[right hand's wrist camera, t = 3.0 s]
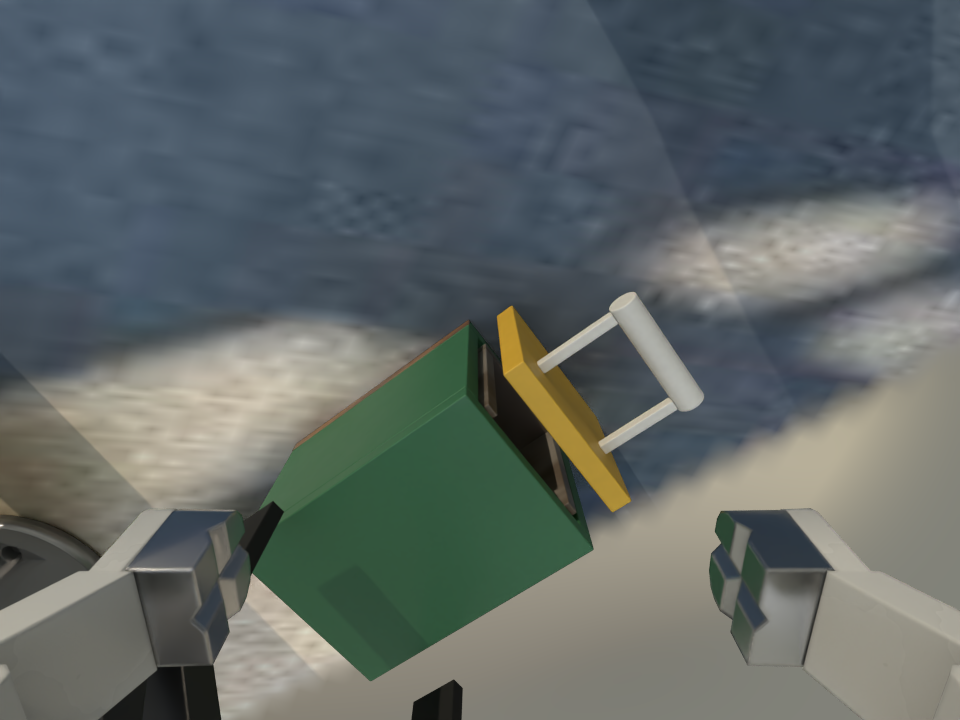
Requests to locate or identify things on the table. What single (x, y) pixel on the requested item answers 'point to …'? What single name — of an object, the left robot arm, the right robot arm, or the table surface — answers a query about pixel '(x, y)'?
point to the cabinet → (413, 515)
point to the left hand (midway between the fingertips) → (353, 612)
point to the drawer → (574, 398)
